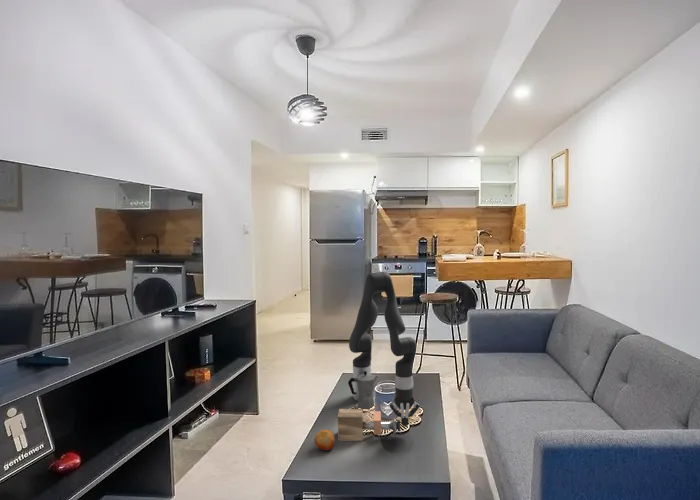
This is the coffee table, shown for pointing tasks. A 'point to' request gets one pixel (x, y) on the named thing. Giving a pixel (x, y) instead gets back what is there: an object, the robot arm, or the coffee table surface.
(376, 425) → the block
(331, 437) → the fruit
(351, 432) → the wooden block
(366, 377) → the coffeepot
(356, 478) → the coffee table surface
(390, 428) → the shaft
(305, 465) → the coffee table surface
